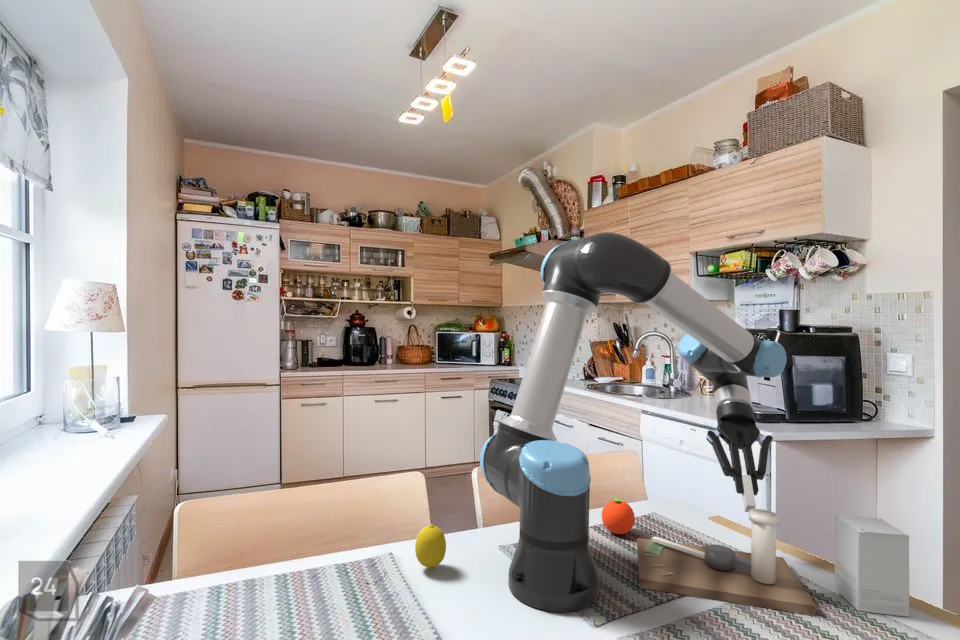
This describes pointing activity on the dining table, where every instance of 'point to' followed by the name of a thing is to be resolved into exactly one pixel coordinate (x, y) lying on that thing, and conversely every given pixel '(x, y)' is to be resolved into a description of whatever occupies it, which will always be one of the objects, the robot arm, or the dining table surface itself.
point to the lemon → (430, 546)
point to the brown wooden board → (718, 579)
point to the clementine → (618, 516)
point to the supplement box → (872, 565)
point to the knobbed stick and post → (761, 549)
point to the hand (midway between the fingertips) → (750, 508)
